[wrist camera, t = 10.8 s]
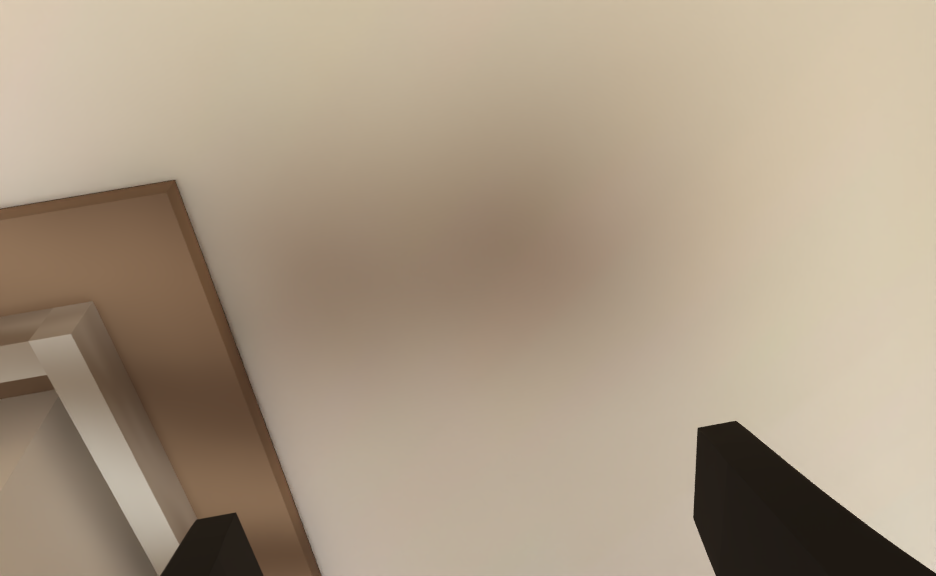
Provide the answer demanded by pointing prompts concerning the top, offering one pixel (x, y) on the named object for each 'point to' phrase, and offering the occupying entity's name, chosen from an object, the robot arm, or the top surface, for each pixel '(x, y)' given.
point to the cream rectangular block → (58, 499)
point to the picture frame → (143, 367)
